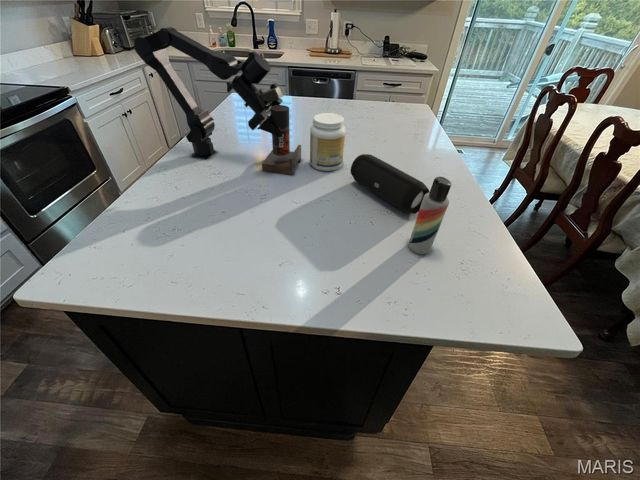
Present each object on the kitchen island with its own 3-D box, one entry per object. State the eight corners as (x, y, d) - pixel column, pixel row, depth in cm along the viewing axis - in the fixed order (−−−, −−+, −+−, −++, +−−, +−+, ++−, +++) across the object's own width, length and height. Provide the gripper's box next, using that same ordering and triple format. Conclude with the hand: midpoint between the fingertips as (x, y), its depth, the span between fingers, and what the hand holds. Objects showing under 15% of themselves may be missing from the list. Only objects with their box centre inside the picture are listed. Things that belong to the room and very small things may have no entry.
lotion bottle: (405, 240, 79) (426, 173, 66) (425, 239, 79) (450, 173, 66) (412, 255, 75) (435, 186, 61) (433, 254, 75) (461, 186, 62)
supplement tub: (349, 164, 110) (354, 118, 99) (327, 176, 103) (330, 127, 92) (325, 154, 116) (327, 109, 105) (302, 163, 109) (302, 117, 98)
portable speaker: (347, 183, 100) (350, 155, 93) (368, 175, 105) (372, 148, 98) (404, 221, 85) (413, 191, 79) (426, 210, 90) (435, 181, 83)
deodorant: (285, 147, 107) (284, 104, 97) (292, 154, 103) (292, 109, 93) (270, 150, 105) (267, 106, 95) (276, 157, 101) (274, 112, 91)
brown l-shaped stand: (262, 171, 104) (260, 155, 100) (273, 156, 113) (272, 141, 109) (292, 175, 102) (291, 159, 98) (301, 160, 111) (301, 145, 107)
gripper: (253, 83, 82) (292, 128, 88) (275, 69, 96) (307, 108, 102) (231, 109, 88) (269, 149, 94) (255, 92, 102) (286, 128, 108)
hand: (284, 132), depth 99 cm, fingers closed on deodorant, 6 cm apart
